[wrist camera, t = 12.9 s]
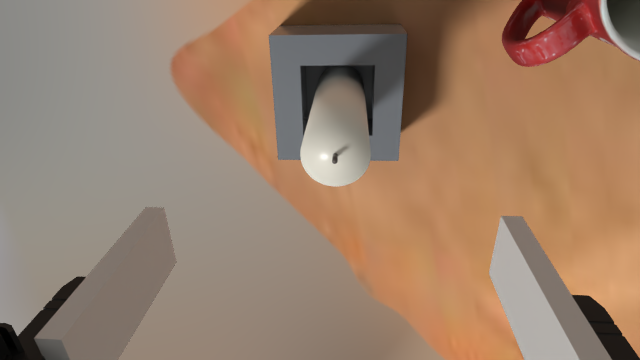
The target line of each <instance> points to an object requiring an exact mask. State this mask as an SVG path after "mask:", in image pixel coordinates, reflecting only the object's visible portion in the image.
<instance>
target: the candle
mask: <svg viewBox="0 0 640 360" xmlns="http://www.w3.org/2000/svg"><path fill="white" fill-rule="evenodd" d="M300 157H301V162H302V165H303V167H304V169H305V171H306V172H307V173H308V175H309V176H310V177H311V178H313V179H314V180H316V181H317V182H319V183H321V184H324V185H328V186H344V185H348V184H350V183H353V182H354V181H356V180H358V179H359V178H360V177H361V176H362V175H363V174H364V173H365V171H366V170H367V168H368V166H369V163H370V158H371V151H370V141H369V131H368V121H367V111H366V101H365V91H364V83H363V79H362V77H361V75H360V74H359V73H358V72H357V71H356V70H355V69H354V68H352V67H350V66H347V65H335V66H332V67H330V68H328V69H327V70H325V71H324V72H323V74H322V75H321V77H320V79H319V81H318V85H317V89H316V92H315V96H314V100H313V104H312V107H311V111H310V115H309V119H308V123H307V126H306V130H305V134H304V138H303V141H302V145H301V150H300Z"/></svg>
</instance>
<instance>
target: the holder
mask: <svg viewBox="0 0 640 360" xmlns="http://www.w3.org/2000/svg"><path fill="white" fill-rule="evenodd" d="M269 44H270V57H271V70H272V83H273V97H274V110H275V123H276V136H277V149H278V160H301V157H300V150H301V145H302V141H303V138H304V134H305V130H306V126H307V123H308V119H309V115H310V111H311V107H312V104H313V100H314V96H315V92H316V89H317V85H318V81H319V79H320V77H321V75H322V74H323V72H324V71H325V70H327V69H328V68H330V67H332V66H335V65H347V66H350V67H352V68H354V69H355V70H356V71H357V72H358V73H359V74H360V75H361V77H362V79H363V83H364V91H365V101H366V111H367V121H368V131H369V141H370V151H371V158H370V160H373V161H398V160H399V145H400V131H401V117H402V103H403V89H404V75H405V60H406V46H407V32H406V31H405V30H404V28H403V27H402V25H401V24H363V25H290V26H279V27H278V28H276V29H275V30H274V31H273V32H272V33H271V34H270V35H269Z"/></svg>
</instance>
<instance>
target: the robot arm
mask: <svg viewBox="0 0 640 360" xmlns="http://www.w3.org/2000/svg"><path fill="white" fill-rule="evenodd" d="M175 264H176V258H175V253H174V249H173V244H172V240H171V236H170V231H169V227H168V223H167V218H166V214H165V209H164V208H156V207H154V208H153V207H146V208H145V209H144V210H143V211H142V212H141V213H140V215H139V216H138V217H137V218H136V219H135V220H134V222H133V223H132V224H131V225H130V226H129V228H128V229H127V230H126V231H125V232H124V234H123V235H122V236H121V237H120V238H119V239H118V240H117V242H116V243H115V244H114V245H113V246H112V247H111V249H110V250H109V251H108V252H107V253H106V255H105V256H104V257H103V258H102V259H101V260H100V262H99V263H98V264H97V265H96V266H95V268H94V269H93V270H92V271H91V272H90V273H89V274H88V276H87V277H76V278H75V279H73V280H72V281H70V282H69V283H67V284H66V285H64V286H63V287H62V288H61V289H60V290H59V291H58V292H57V293H56V295H55V296H54V297H53V298H52V301H49V302H48V303H47V304H46V306H45V307H44V309H43V310H42V311H40V312H39V313H38V314H37V316H36V317H35V318H34V319H33V320H32V321H31V323H29V324H28V326H27V327H26V328H25V329H24V330H23V331H22V332H21V333H20V334H19V336H18V337H17V335H16V333H15V331H14V329H13V328H12V325H9V324H6V323H0V360H118V359H119V357H120V356H121V354H122V352H123V351H124V349H125V347H126V346H127V344H128V342H129V341H130V339H131V337H132V336H133V334H134V332H135V330H136V329H137V327H138V326H139V324H140V322H141V321H142V319H143V317H144V316H145V314H146V312H147V311H148V309H149V307H150V306H151V304H152V302H153V301H154V299H155V297H156V295H157V294H158V292H159V291H160V289H161V287H162V286H163V284H164V282H165V280H166V279H167V277H168V276H169V274H170V272H171V271H172V269H173V267H174V266H175ZM489 274H490V277H491V279H492V282H493V284H494V287H495V289H496V291H497V294H498V296H499V299H500V301H501V304H502V306H503V309H504V311H505V313H506V316H507V318H508V321H509V323H510V326H511V328H512V331H513V333H514V335H515V338H516V340H517V343H518V345H519V348H520V350H521V352H522V355H523V357H524V360H640V358H639V357H638V356H637V354H636V353H635V351H634V350H633V348H632V347H631V346H630V344H629V343H628V341H627V340H626V338H625V337H624V336H622V333H621V331H620V330H619V328H618V327H617V325H614V321H613V320H612V318H611V317H610V315H609V314H608V313H607V311H606V310H605V308H604V307H602V306H601V305H600V304H599V303H597V302H596V301H595V300H594V299H592V298H591V297H590V296H584V295H571V294H570V292H569V290H568V289H567V287H566V286H565V284H564V282H563V281H562V279H561V278H560V276H559V274H558V273H557V271H556V270H555V268H554V266H553V265H552V263H551V262H550V260H549V259H548V257H547V255H546V254H545V252H544V251H543V249H542V247H541V246H540V244H539V243H538V241H537V239H536V238H535V236H534V235H533V233H532V231H531V230H530V228H529V227H528V225H527V223H526V222H525V220H524V219H523V217H522V216H501V219H500V223H499V228H498V233H497V238H496V242H495V247H494V252H493V257H492V261H491V266H490V271H489Z"/></svg>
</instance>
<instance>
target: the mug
mask: <svg viewBox="0 0 640 360" xmlns="http://www.w3.org/2000/svg"><path fill="white" fill-rule="evenodd" d="M542 15H543V16H545V17H547V18H549V19H552V20H555V21H557V22H555V23H554V24H553V25H552V26H550V27H549V28H547V29H546V30H544V31H543V32H540V33H539V34H537V35H535V36H533V37H531V38H528V39H525V37H526V35H527V34H528V32H529V30H530V28H531V27H532V25H533V24H534V23H535V21H536V20H537V19H538V18H539V17H541V16H542ZM589 35H590V36H592V37H595V38H597V39H599V40H601V41H604V42H606V43H608V44H611V45H613V46H615V47H617V48H619V49H620V50H621V51H622V52H624V53H625V54H626V55H628V56H630V57H631V58H633V59H636V60H638V61H640V0H522V1H521V2H520V4H519V5H518V6H517V8H516V9H515V11H514V12H513V14H512V15H511V17H510V19H509V20H508V22H507V24H506V26H505V28H504V31H503V34H502V43H503V46H504V48H505V50H506V52H507V53H508V55H509V56H510V57H511V59H512V60H513V61H514V62H515V63H517V64H518V65H521V66H526V67H532V66H539V65H542V64H545V63H548V62H550V61H553V60H555V59H557V58H559V57H561V56H562V55H564V54H566V53H567V52H568V51H570V50H571V49H573V48H574V47H575V46H576V45H578V44H579V43H580V42H581V41H582V40H583V39H585V38H586V37H588V36H589Z"/></svg>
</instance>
